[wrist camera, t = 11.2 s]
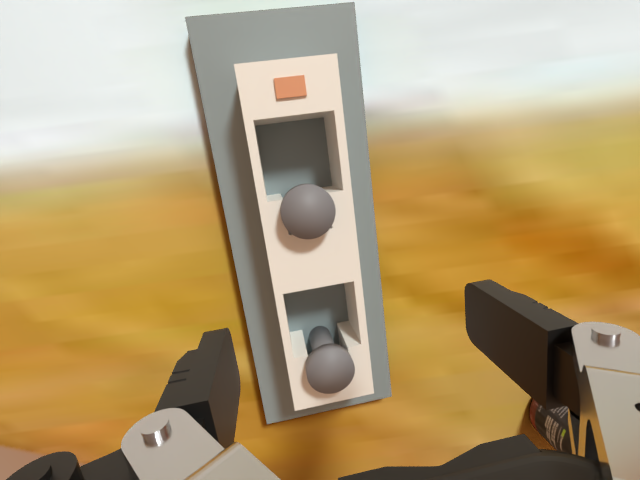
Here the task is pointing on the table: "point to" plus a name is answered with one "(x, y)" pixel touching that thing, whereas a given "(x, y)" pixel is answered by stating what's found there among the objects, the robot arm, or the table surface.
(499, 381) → the table surface
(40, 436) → the table surface
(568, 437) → the supplement bottle
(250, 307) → the board
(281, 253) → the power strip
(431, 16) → the table surface
